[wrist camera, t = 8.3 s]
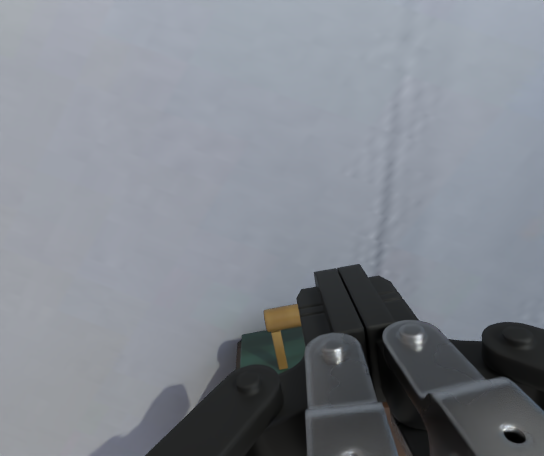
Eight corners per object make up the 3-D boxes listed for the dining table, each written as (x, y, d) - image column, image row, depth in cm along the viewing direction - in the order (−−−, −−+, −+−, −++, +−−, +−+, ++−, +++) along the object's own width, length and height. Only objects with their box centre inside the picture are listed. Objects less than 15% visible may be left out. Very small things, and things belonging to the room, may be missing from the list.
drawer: (229, 285, 28) (221, 345, 21) (382, 256, 28) (424, 308, 21) (270, 454, 33) (275, 547, 26) (399, 431, 33) (437, 518, 26)
